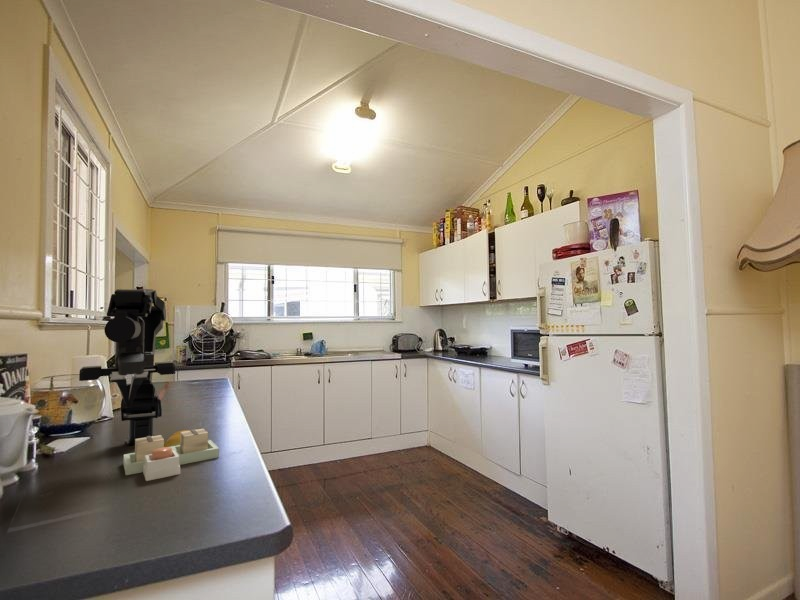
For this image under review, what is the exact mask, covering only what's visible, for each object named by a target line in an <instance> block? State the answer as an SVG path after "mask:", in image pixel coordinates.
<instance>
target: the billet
mask: <svg viewBox="0 0 800 600" xmlns="http://www.w3.org/2000/svg"><path fill="white" fill-rule="evenodd" d="M189 430H190V431H185V432H181V433H180V454H183V453H189V452H194V451H200V450H205V449H208V440H209V432H208V431H207V430H205V428H198V429H194V428H192V429H189Z"/></svg>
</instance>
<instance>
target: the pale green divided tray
mask: <svg viewBox="0 0 800 600" xmlns="http://www.w3.org/2000/svg"><path fill="white" fill-rule="evenodd" d="M171 448H172V451H173V450H175V451H176V452H177V454H178V455H179V465H180V466H181V465H185V464H190V463H195V462H196V463H197V462H201V461H207V460H212V459H216V458H220V447H218V445H217V444H216V443H214V442H213V440H211V439H208V449H205V450H200V451H194V452H189V453H183V454H180V445H177V446H171ZM122 461H123V463H122V464H123V468H124V474H125V476H129V475H135V474H139V473H143V465H145V461H139V462H135V452H130V453H125V454H123V460H122Z"/></svg>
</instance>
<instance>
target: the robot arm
mask: <svg viewBox="0 0 800 600" xmlns="http://www.w3.org/2000/svg"><path fill="white" fill-rule="evenodd" d="M106 317H108V318H109V317H110V319H109V320H108V321H107V323H106V324H105V326H104V335H105V337H107V339H108V340H110V341H111V342H114V343H115V355H114V356H115V359H114V367H109V368H108V367H105V368H102V365H91V366H90V365H89V366H82V367H81V368H80V369H79V376H78V377H79V379H78V380H79V382H83V381H97V380H98V379H99V378H101V377H109V378H110V379H109V380H110V383H116V385H117V387H118V388H119V390H120V392H121V395H122V398H121V401H120V415H121V417H120V419H121V422H126V421H128V437H127V438H125V442H126V445H127V446H131V445H135V439H138V438H145V437H146V436H155V434H154V421H155V420H154V419H158V418H161V417H163V406H162V400H161V399H160V396H159V395H158V391H157V390H156V387H155V385H154V384H153V373H158V375H160V376H166V375H175V374H176V364H175V363H174V362H172V361H161V362H160V361H157V362H155V351H156V350H155V349H156V339H157V335H158V334H159V333H160V332H161V330H162V329H164V328H163V327H164V322H166V320H167V309H166V302H165V301H164V300H162V298H160V297H159V296H158V293H157V290H156V289H155V290H154V289H152V288H151V289H150V288H148V289H147V288H141V289H140V288H138V289H126V288H125V289H122V288H121V289H120V288H119V289H115V290H114V293H112V294H111V296H110V300H109V304H108V308H107V311H106ZM127 375H132V377H131V382H130V384H127V379H126V376H127Z"/></svg>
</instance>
